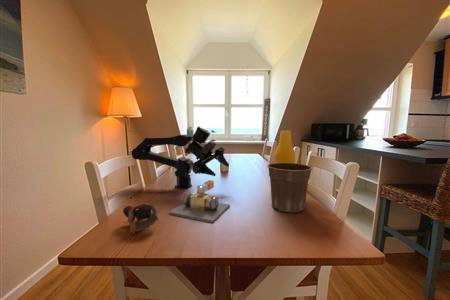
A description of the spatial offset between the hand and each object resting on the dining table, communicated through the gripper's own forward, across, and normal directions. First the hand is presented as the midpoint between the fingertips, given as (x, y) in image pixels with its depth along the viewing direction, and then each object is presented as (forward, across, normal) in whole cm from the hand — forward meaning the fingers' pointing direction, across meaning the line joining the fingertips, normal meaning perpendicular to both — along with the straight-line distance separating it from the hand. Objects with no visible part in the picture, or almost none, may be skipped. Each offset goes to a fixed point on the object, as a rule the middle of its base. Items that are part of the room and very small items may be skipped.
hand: (222, 170), depth 96 cm
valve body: (+9, -22, -2) cm, 24 cm away
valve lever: (+5, -17, -5) cm, 18 cm away
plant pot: (+32, +2, -6) cm, 32 cm away
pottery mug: (+2, -42, -5) cm, 42 cm away
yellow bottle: (+26, +15, +3) cm, 30 cm away
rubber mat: (+9, -22, -2) cm, 24 cm away
